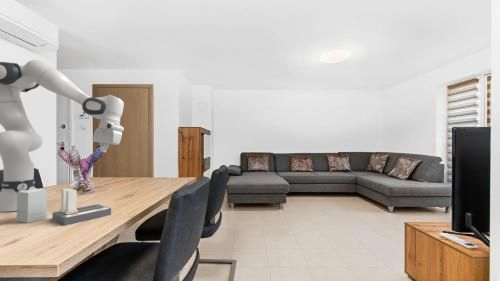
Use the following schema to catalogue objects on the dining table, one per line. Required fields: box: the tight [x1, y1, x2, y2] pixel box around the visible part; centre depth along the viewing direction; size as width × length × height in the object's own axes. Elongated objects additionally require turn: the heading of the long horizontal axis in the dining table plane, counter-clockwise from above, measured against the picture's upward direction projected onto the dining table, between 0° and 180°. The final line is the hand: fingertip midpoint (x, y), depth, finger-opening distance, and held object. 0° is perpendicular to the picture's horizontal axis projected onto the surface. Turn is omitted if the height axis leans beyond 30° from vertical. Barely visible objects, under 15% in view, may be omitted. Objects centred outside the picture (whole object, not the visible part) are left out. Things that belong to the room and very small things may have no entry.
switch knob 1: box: [59, 188, 73, 212], centre depth 105 cm, size 2×4×10 cm, turn 146°
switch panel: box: [51, 203, 112, 226], centre depth 107 cm, size 13×18×3 cm
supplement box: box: [16, 188, 48, 224], centre depth 103 cm, size 7×7×13 cm
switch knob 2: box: [64, 189, 78, 214], centre depth 102 cm, size 2×4×10 cm, turn 146°
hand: (102, 152), depth 123 cm, fingers closed
